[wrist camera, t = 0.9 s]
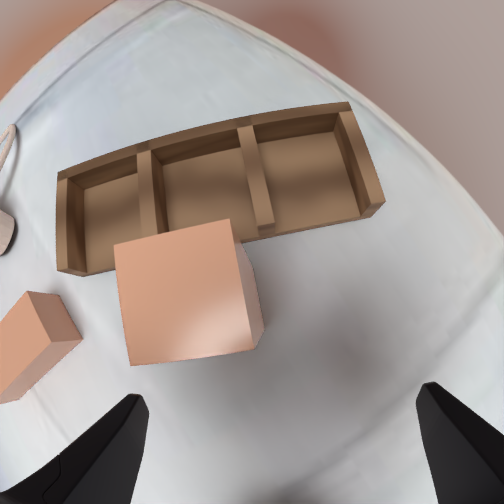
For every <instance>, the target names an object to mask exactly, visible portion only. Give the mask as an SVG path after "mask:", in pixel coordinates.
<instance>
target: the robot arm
mask: <svg viewBox="0 0 504 504" xmlns="http://www.w3.org/2000/svg"><path fill="white" fill-rule="evenodd" d="M416 409H417V414H418V419H419V424H420V430H421V436H422V441H423V445H424V449H425V453H426V456H427V460H428V464H429V467H430V471H431V475H432V479H433V483H434V487H435V491H436V495H437V499H438V504H504V435H503V434H502V433H500V432H499V431H498V430H497V429H495V428H494V427H493V426H492V425H490V424H489V423H488V422H486V421H485V420H484V419H483V418H481V417H480V416H479V415H477V414H476V413H475V412H474V411H472V410H471V409H470V408H468V407H467V406H466V405H465V404H463V403H462V402H461V401H459V400H458V399H457V398H456V397H454V396H453V395H452V394H450V393H449V392H448V391H447V390H445V389H444V388H443V387H441V386H440V385H439V384H438V383H436V382H428V383H424V384H423V385H422V387H421V389H420V392H419V394H418V397H417V399H416ZM148 419H149V410H148V408H147V406H146V403H145V401H144V399H143V397H142V396H141V395H140V394H128V395H127V396H126V397H125V398H123V399H122V400H121V401H120V402H119V403H118V404H117V405H115V406H114V407H113V408H112V409H111V410H110V411H109V412H107V413H106V414H105V415H104V416H103V417H102V418H100V419H99V420H98V421H97V422H96V423H95V424H93V425H92V426H91V427H90V428H89V429H88V430H87V431H85V432H84V433H83V434H82V435H81V436H79V437H78V438H77V439H76V440H75V441H74V442H72V443H71V444H70V445H69V446H68V447H67V448H65V449H64V450H63V451H62V452H61V453H60V455H57V456H56V457H55V458H53V459H52V460H51V461H50V462H48V463H47V464H46V465H45V466H43V467H42V468H41V469H39V470H38V471H36V472H35V473H33V474H32V475H30V476H29V477H27V478H26V479H24V480H23V481H21V482H19V483H18V484H16V485H15V486H13V487H11V488H10V489H8V490H6V491H4V492H0V504H130V503H131V499H132V495H133V491H134V487H135V483H136V480H137V476H138V472H139V468H140V465H141V461H142V457H143V452H144V446H145V439H146V432H147V426H148Z"/></svg>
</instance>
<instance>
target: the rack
mask: <svg viewBox="0 0 504 504" xmlns="http://www.w3.org/2000/svg"><path fill="white" fill-rule="evenodd" d="M385 202H386V200H385V197H384V194H383V191H382V188H381V185H380V182H379V179H378V176H377V173H376V170H375V167H374V165H373V162H372V159H371V156H370V154H369V151H368V148H367V146H366V143H365V141H364V138H363V135H362V133H361V130H360V128H359V125H358V123H357V121H356V118H355V116H354V113H353V111H352V109H351V106H350V104H349V102H338V103H329V104H320V105H312V106H304V107H297V108H290V109H284V110H278V111H272V112H266V113H260V114H255V115H249V116H244V117H239V118H234V119H230V120H225V121H220V122H216V123H212V124H207V125H203V126H199V127H195V128H191V129H187V130H183V131H179V132H176V133H172V134H168V135H165V136H161V137H158V138H154V139H151V140H147V141H144V142H141V143H138V144H134V145H131V146H128V147H125V148H122V149H119V150H116V151H113V152H110V153H107V154H105V155H102V156H99V157H96V158H93V159H91V160H88V161H85V162H83V163H80V164H77V165H75V166H72V167H70V168H67V169H65V170H62V171H60V172H58V176H57V193H56V261H57V271H60V272H64V273H68V274H72V275H76V276H81V277H85V276H89V275H94V274H99V273H103V272H108V271H112V270H116V267H115V257H114V245H116V244H120V243H124V242H128V241H132V240H137V239H141V238H145V237H149V236H153V235H158V234H162V233H166V232H170V231H175V230H179V229H184V228H188V227H193V226H197V225H202V224H206V223H211V222H215V221H220V220H225V219H230V221H231V223H232V225H233V227H234V229H235V231H236V233H237V235H238V237H239V240H240V242H241V243H245V242H250V241H255V240H260V239H265V238H270V237H274V236H279V235H284V234H289V233H294V232H299V231H304V230H309V229H314V228H319V227H324V226H329V225H334V224H339V223H345V222H350V221H355V220H360V219H365V218H370V217H371V216H372V215H373V214H374V213H375V212H376V211H377V210H378V209H379V208H380V207H381V206H382V205H383V204H384V203H385Z"/></svg>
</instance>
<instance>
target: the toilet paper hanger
mask: <svg viewBox="0 0 504 504" xmlns="http://www.w3.org/2000/svg"><path fill="white" fill-rule="evenodd" d="M8 133H9V136H8V139H7V142H6V144H5V146H4V149H3V151H2V153H1V155H0V171H1V169H2V167H3V165H4V163H5V160H6V158H7V156H8V154H9V151H10V149H11V146H12V144H13V141H14V138H15V133H16V127H15V125H14V124H11V125H9V126H8V128H7V129H6V130H5V131H4V133H3V134H2V136H1V137H0V144H1V143H2V141H3V140H4V139H5V137H6V136H7V134H8ZM13 230H14V218H13V217H11V216H10V215H8V214H6V213H5V212H3V211H1V210H0V255H1V254H3V252H4V251H5V249H6V248H7V246H8V244H9V242H10V239H11V236H12V233H13Z"/></svg>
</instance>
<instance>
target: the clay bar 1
mask: <svg viewBox="0 0 504 504" xmlns="http://www.w3.org/2000/svg"><path fill="white" fill-rule="evenodd" d="M82 340H83V338H82V337H81V335H80V333H79V331H78V330H77V328H76V326H75V324H74V323H73V321H72V319H71V317H70V315H69V314H68V312H67V310H66V308H65V306H64V304H63V302H62V300H61V298H60V296H59V295H53V294H46V293H39V292H32V291H26V292H25V293H24V294H23V296H22V297H21V298H20V299H19V300H18V301H17V303H16V304H15V305H14V306H13V307H12V309H11V310H10V311H9V312H8V313H7V315H6V316H5V317H4V318H3V320H2V321H1V322H0V404H3V403H7V402H11V401H15V400H19V399H20V398H21V397H22V396H23V395H24V394H25V393H26V392H27V391H28V390H29V389H30V388H31V387H32V386H33V385H34V384H35V383H36V382H38V381H39V380H40V379H41V378H42V377H43V376H44V375H45V374H46V373H47V372H48V371H49V370H50V369H51V368H53V367H54V366H55V365H56V364H57V363H58V362H59V361H60V360H61V359H62V358H63V357H64V356H66V355H67V354H68V353H69V352H70V351H71V350H72V349H73V348H74V347H75V346H77V345H78V344H79V343H80V342H81V341H82Z"/></svg>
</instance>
